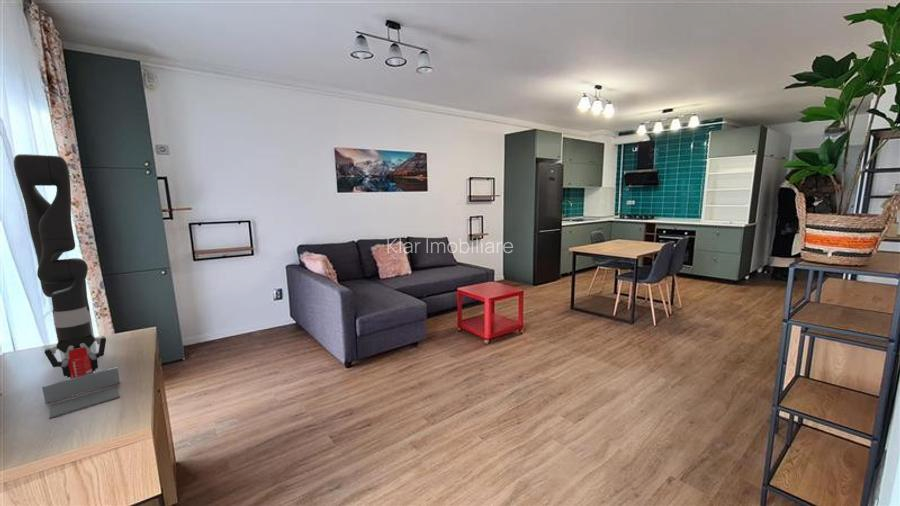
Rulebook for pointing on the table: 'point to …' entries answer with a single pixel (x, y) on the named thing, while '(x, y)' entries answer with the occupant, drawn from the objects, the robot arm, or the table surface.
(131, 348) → the table surface
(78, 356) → the beverage can
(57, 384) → the low wall
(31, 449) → the table surface
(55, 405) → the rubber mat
